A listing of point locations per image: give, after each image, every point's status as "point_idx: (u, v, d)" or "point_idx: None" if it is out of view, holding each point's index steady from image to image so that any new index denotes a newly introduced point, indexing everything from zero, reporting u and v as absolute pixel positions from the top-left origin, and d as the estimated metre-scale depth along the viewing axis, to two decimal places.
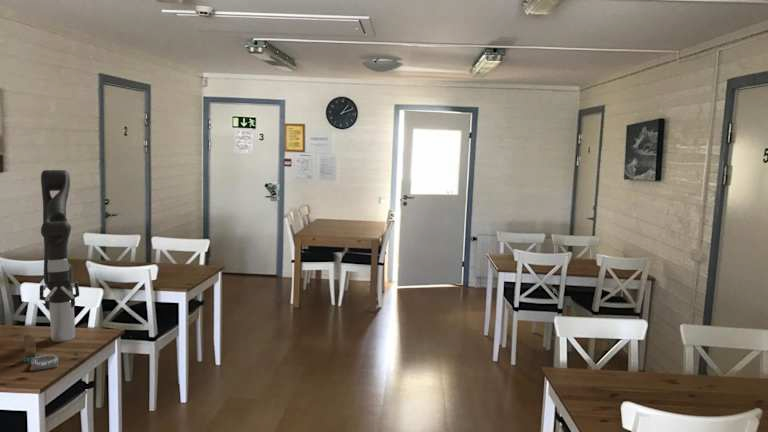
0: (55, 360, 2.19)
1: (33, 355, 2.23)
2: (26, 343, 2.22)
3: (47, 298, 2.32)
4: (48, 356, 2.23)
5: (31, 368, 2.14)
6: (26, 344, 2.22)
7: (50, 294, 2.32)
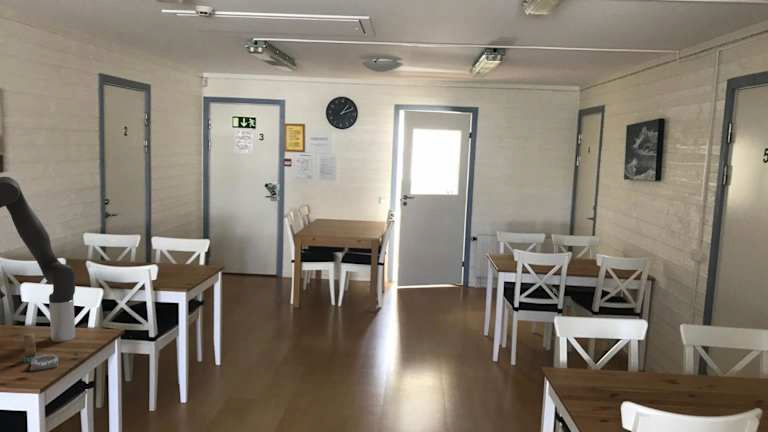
0: (55, 360, 2.19)
1: (33, 355, 2.23)
2: (26, 343, 2.22)
3: None
4: (48, 356, 2.23)
5: (31, 368, 2.14)
6: (26, 344, 2.22)
7: None
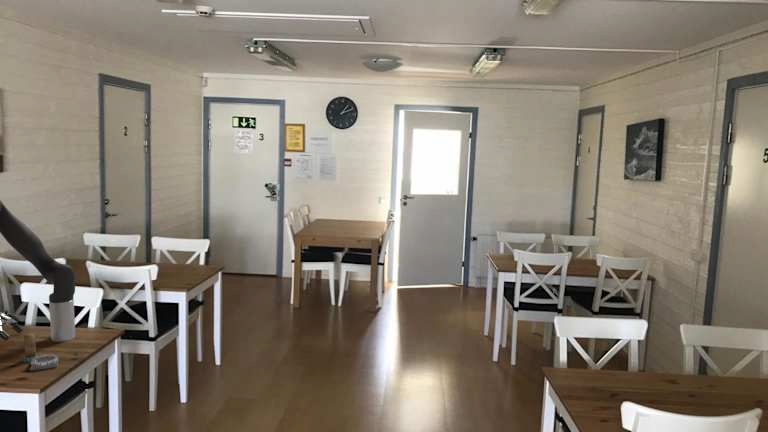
0: (55, 360, 2.19)
1: (33, 355, 2.23)
2: (26, 343, 2.22)
3: None
4: (48, 356, 2.23)
5: (31, 368, 2.14)
6: (26, 344, 2.22)
7: None
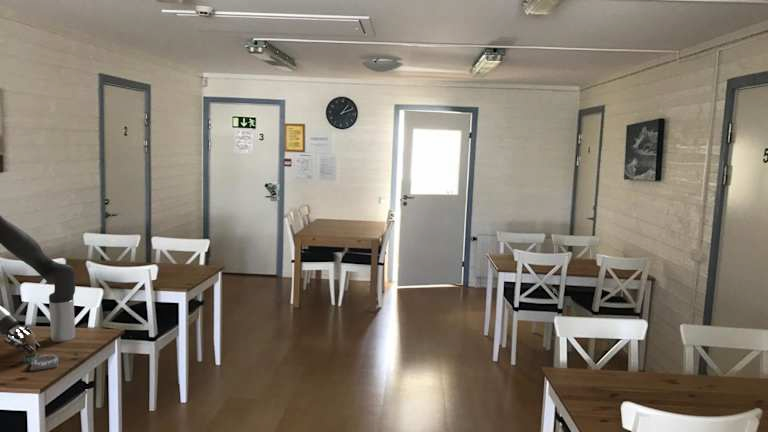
0: (55, 360, 2.19)
1: (33, 355, 2.23)
2: None
3: None
4: (48, 356, 2.23)
5: (31, 368, 2.14)
6: None
7: None
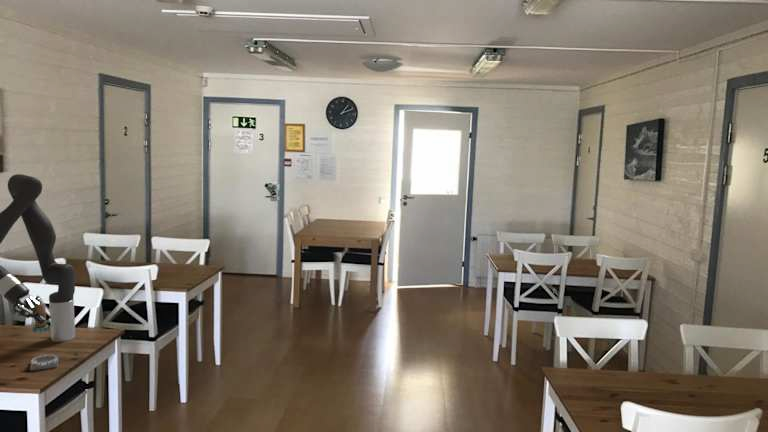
0: (55, 360, 2.19)
1: (43, 325, 2.17)
2: None
3: None
4: (48, 356, 2.23)
5: (31, 368, 2.14)
6: None
7: None
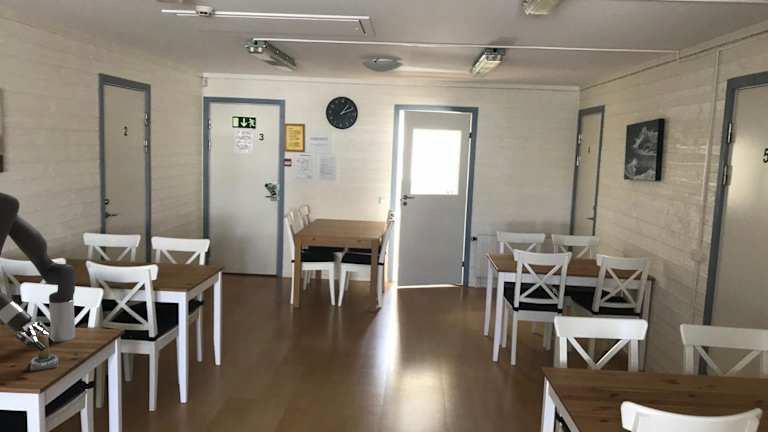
0: (55, 360, 2.19)
1: (46, 357, 2.18)
2: None
3: None
4: None
5: (31, 368, 2.14)
6: None
7: None
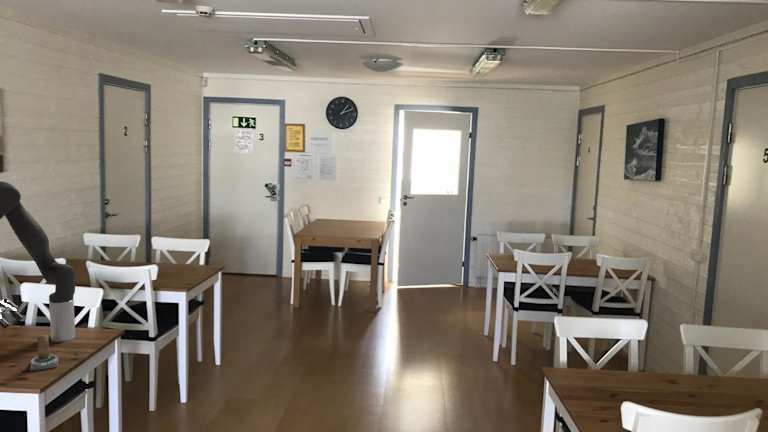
0: (55, 360, 2.19)
1: (46, 357, 2.18)
2: (39, 344, 2.17)
3: None
4: None
5: (31, 368, 2.14)
6: (39, 345, 2.17)
7: None
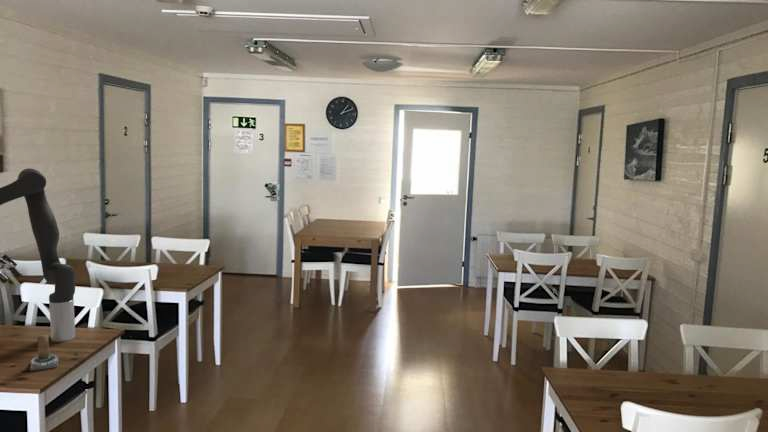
0: (55, 360, 2.19)
1: (46, 357, 2.18)
2: (39, 344, 2.17)
3: None
4: None
5: (31, 368, 2.14)
6: (39, 345, 2.17)
7: None
